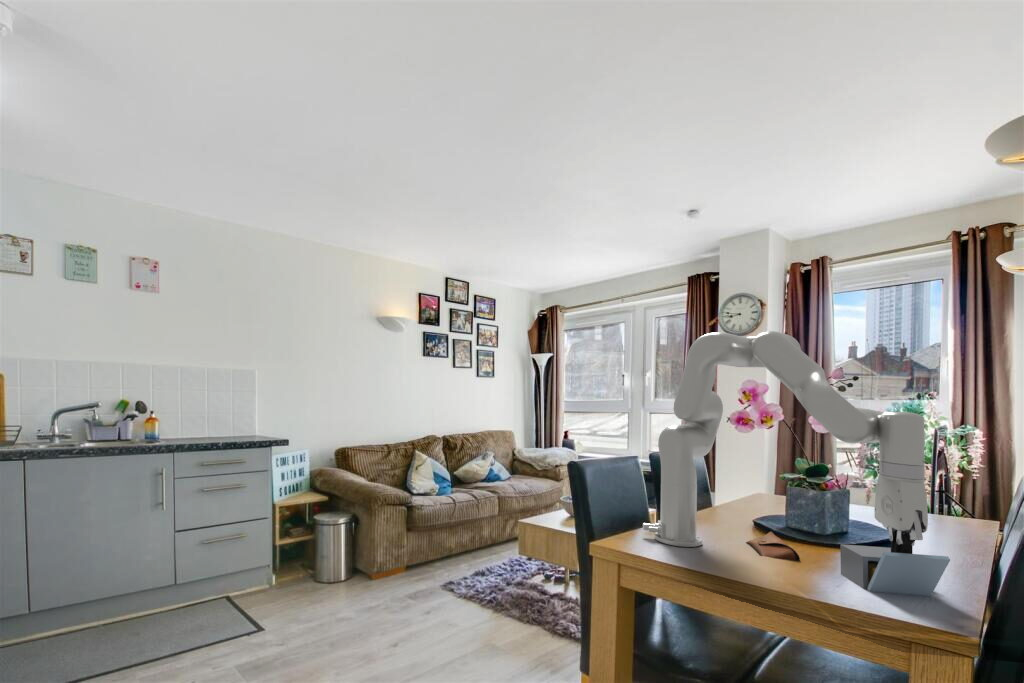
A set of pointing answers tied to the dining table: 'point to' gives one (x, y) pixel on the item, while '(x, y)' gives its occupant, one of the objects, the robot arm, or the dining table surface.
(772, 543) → the sunglasses case
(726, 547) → the dining table surface
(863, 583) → the block
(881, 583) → the side door
